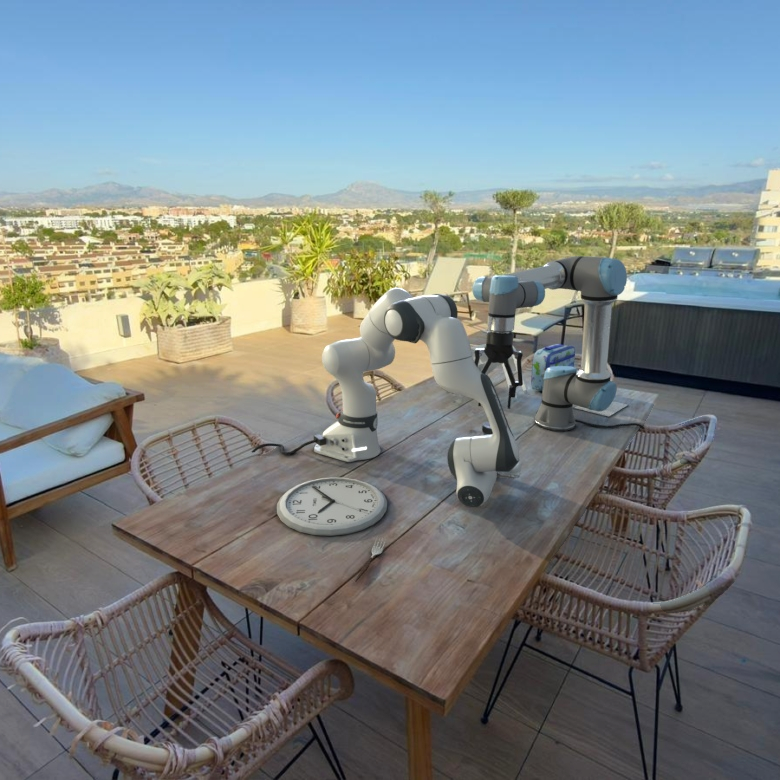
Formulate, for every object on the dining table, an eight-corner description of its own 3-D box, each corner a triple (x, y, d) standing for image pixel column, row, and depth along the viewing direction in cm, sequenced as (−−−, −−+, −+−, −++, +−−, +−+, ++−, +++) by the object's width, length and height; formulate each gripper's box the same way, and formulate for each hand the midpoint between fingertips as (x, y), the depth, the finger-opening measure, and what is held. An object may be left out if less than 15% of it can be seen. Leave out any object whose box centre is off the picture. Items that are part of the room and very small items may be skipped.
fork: (349, 582, 112) (349, 574, 111) (377, 542, 126) (377, 535, 125) (361, 585, 111) (361, 577, 110) (387, 544, 125) (387, 537, 125)
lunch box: (547, 396, 238) (552, 351, 232) (526, 391, 246) (531, 347, 239) (574, 385, 256) (579, 343, 250) (554, 380, 263) (559, 340, 257)
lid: (505, 430, 160) (505, 424, 159) (498, 436, 155) (498, 430, 154) (486, 426, 163) (486, 420, 162) (479, 432, 158) (479, 426, 157)
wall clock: (392, 527, 129) (268, 531, 127) (391, 533, 130) (269, 537, 127) (383, 473, 158) (282, 475, 155) (383, 478, 158) (282, 480, 156)
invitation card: (608, 416, 214) (573, 407, 224) (608, 416, 214) (573, 408, 224) (628, 404, 229) (594, 396, 238) (628, 405, 229) (594, 397, 238)
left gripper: (520, 468, 145) (525, 449, 157) (448, 456, 151) (459, 439, 164) (517, 488, 147) (523, 468, 159) (447, 475, 153) (457, 457, 166)
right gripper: (537, 330, 151) (529, 405, 158) (465, 326, 155) (460, 399, 162) (538, 335, 144) (530, 413, 151) (462, 331, 148) (458, 407, 155)
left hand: (490, 453), depth 161 cm, fingers open, 8 cm apart
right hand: (494, 406), depth 156 cm, fingers open, 8 cm apart
